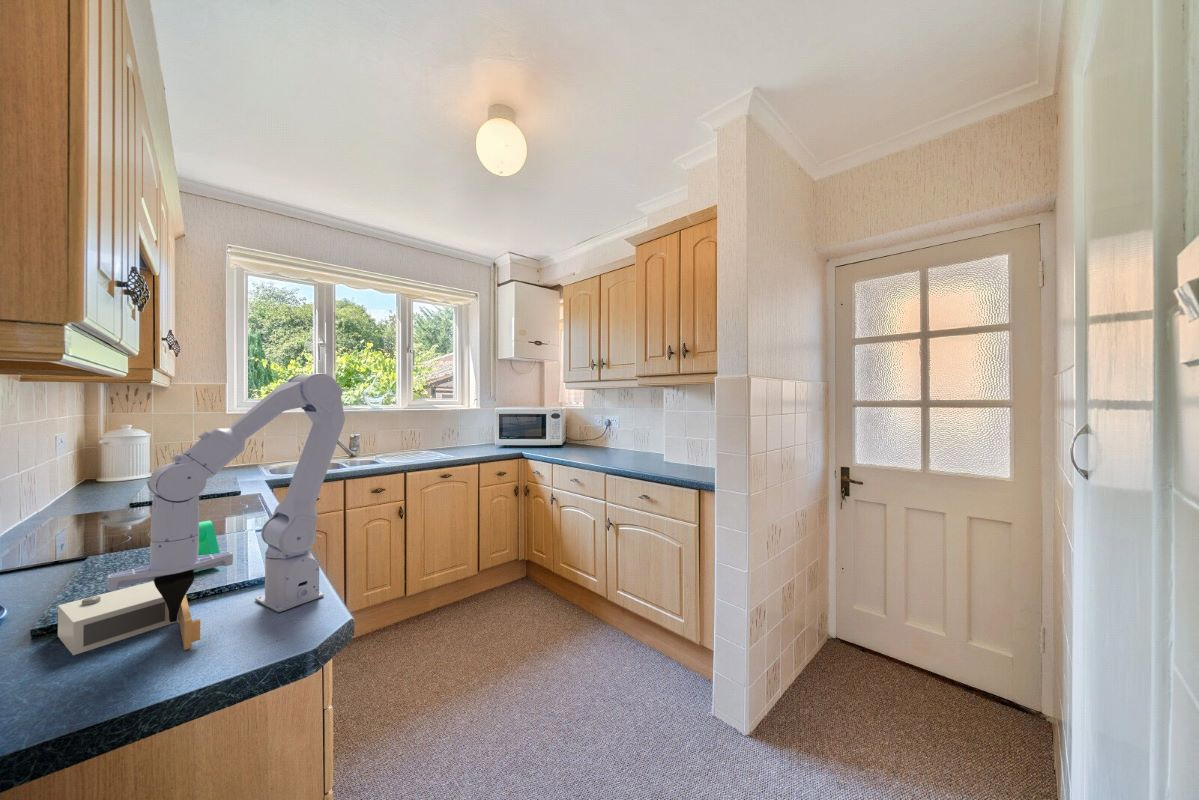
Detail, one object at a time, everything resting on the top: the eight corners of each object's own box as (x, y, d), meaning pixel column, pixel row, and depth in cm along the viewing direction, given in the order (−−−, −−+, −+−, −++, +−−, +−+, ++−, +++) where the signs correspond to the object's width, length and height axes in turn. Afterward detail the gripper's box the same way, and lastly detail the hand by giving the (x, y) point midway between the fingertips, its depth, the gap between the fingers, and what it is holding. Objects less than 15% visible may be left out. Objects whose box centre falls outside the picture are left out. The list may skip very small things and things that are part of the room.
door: (177, 620, 75) (178, 594, 75) (192, 616, 76) (193, 591, 76) (183, 650, 66) (183, 621, 66) (200, 645, 68) (200, 617, 68)
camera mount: (154, 570, 97) (155, 524, 97) (199, 559, 104) (199, 516, 104) (175, 582, 91) (176, 533, 91) (220, 570, 98) (221, 524, 98)
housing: (180, 620, 75) (181, 588, 75) (73, 655, 65) (73, 618, 65) (158, 604, 81) (158, 574, 81) (56, 634, 71) (56, 599, 71)
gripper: (227, 523, 79) (225, 597, 79) (108, 541, 68) (105, 627, 68) (236, 531, 75) (234, 610, 75) (109, 552, 64) (106, 644, 63)
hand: (173, 619), depth 71 cm, fingers closed
